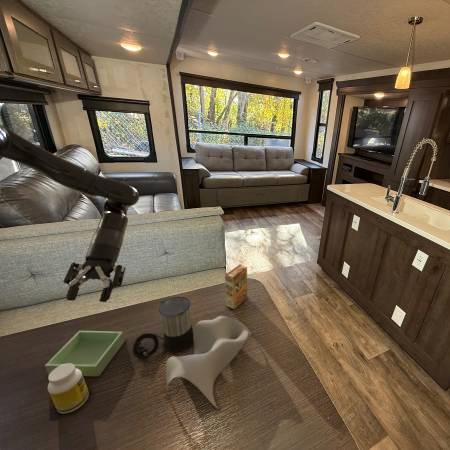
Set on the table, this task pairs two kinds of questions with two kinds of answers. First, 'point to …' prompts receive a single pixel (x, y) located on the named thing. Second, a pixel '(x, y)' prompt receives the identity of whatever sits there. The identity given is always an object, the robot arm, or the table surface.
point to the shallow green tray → (88, 351)
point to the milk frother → (170, 327)
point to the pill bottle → (67, 388)
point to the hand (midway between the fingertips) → (86, 301)
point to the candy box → (236, 286)
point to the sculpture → (209, 353)
